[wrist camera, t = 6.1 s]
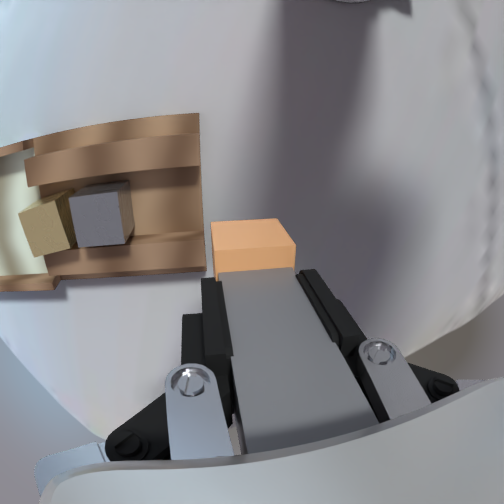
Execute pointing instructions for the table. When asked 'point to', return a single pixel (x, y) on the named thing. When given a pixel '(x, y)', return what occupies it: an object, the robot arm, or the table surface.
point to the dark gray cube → (102, 213)
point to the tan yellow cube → (49, 224)
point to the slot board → (100, 171)
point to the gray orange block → (280, 345)
